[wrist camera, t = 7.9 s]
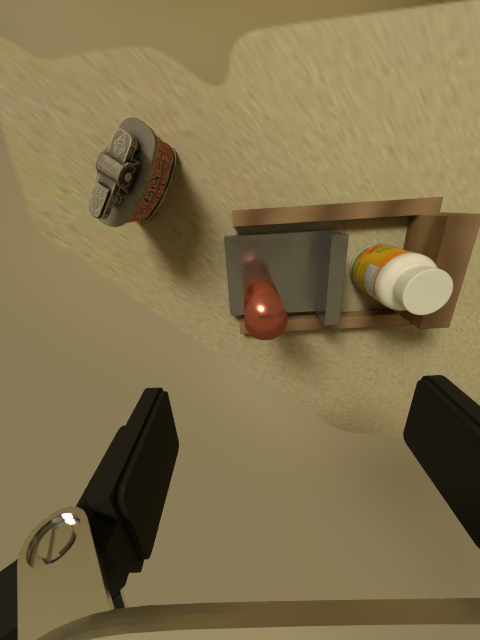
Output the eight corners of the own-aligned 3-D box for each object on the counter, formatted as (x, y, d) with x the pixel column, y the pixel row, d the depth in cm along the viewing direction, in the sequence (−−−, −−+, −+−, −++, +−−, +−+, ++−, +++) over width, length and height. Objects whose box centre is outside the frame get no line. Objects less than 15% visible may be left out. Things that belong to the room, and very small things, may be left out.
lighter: (154, 133, 25) (102, 90, 15) (185, 155, 25) (154, 126, 16) (122, 210, 27) (63, 212, 18) (151, 228, 28) (108, 239, 19)
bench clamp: (442, 197, 27) (489, 194, 22) (413, 319, 32) (445, 340, 27) (232, 210, 27) (230, 211, 22) (240, 328, 33) (240, 350, 28)
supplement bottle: (402, 244, 29) (474, 261, 20) (388, 290, 31) (448, 324, 22) (354, 242, 29) (405, 258, 20) (344, 288, 31) (386, 321, 22)
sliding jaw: (330, 229, 28) (399, 247, 16) (324, 306, 31) (376, 369, 19) (224, 236, 28) (212, 258, 16) (230, 311, 32) (224, 376, 20)
